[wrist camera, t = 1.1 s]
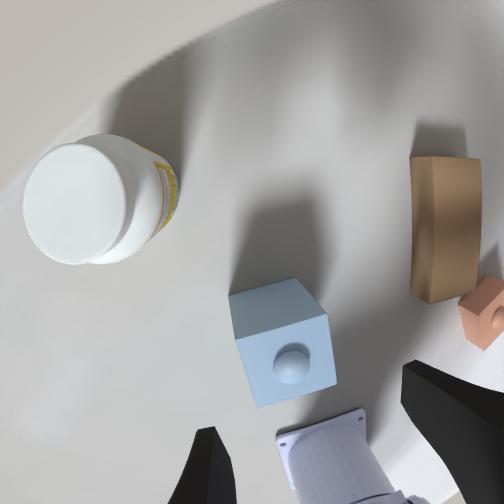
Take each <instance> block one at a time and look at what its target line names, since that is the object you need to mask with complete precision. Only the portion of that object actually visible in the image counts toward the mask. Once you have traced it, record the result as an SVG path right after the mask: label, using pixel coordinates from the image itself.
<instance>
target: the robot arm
mask: <svg viewBox="0 0 504 504" xmlns="http://www.w3.org/2000/svg"><path fill="white" fill-rule="evenodd" d="M401 404H402V405H403V407H404V409H405V411H406V413H407V414H408V416H409V417H410V419H411V421H412V422H413V423H414V425H415V426H416V427H417V429H418V430H419V431H420V432H421V434H422V435H423V436H424V437H425V439H426V440H427V441H428V442H429V444H430V445H431V446H432V447H433V449H434V450H435V451H436V452H437V454H438V455H439V456H440V457H441V459H442V460H443V462H444V463H445V465H446V466H447V468H448V470H449V471H450V473H451V475H452V477H453V478H454V480H455V482H456V484H457V486H458V488H459V490H460V491H461V493H462V495H463V498H464V500H465V502H466V504H504V393H502V392H498V391H494V390H490V389H487V388H483V387H480V386H477V385H474V384H472V383H469V382H466V381H464V380H461V379H459V378H456V377H454V376H452V375H449V374H447V373H445V372H442V371H440V370H438V369H436V368H434V367H431V366H429V365H427V364H425V363H423V362H420V361H418V360H414V361H412V362H409V363H407V364H405V365H403V372H402V390H401ZM276 443H277V447H278V450H279V453H280V456H281V459H282V462H283V465H284V468H285V471H286V474H287V477H288V480H289V483H290V486H291V489H292V490H293V491H296V492H297V496H298V499H299V502H300V504H430V503H429V502H428V501H427V500H426V499H425V498H422V497H417V496H415V495H412V496H410V497H408V498H405V496H404V495H403V493H402V491H401V490H399V491H397V492H395V490H394V488H393V486H392V485H391V483H390V481H389V480H388V478H387V476H386V475H385V473H384V471H383V470H382V468H381V466H380V464H379V463H378V461H377V459H376V458H375V456H374V454H373V453H372V451H371V449H370V448H369V446H368V444H367V442H366V412H365V410H364V409H362V408H361V409H357V410H355V411H352V412H349V413H347V414H344V415H341V416H339V417H336V418H333V419H330V420H327V421H324V422H321V423H318V424H315V425H312V426H309V427H306V428H302V429H299V430H296V431H292V432H289V433H285V434H282V435H279V436H277V437H276ZM281 443H283V444H281ZM168 504H237V500H236V487H235V479H234V473H233V468H232V464H231V459H230V456H229V454H228V452H227V450H226V448H225V446H224V444H223V442H222V440H221V438H220V436H219V434H218V432H217V430H216V428H215V426H213V427H208V428H203V429H198V430H197V432H196V435H195V438H194V442H193V445H192V448H191V451H190V454H189V457H188V460H187V462H186V465H185V467H184V470H183V472H182V475H181V477H180V480H179V482H178V484H177V486H176V488H175V490H174V492H173V494H172V496H171V498H170V500H169V502H168Z"/></svg>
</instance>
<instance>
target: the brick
mask: <svg viewBox="0 0 504 504" xmlns="http://www.w3.org/2000/svg"><path fill="white" fill-rule="evenodd" d="M458 307H459V311H460V315H461V319H462V323H463V327H464V332H465V336H466V339H468V340H469V341H471V342H472V343H473V344H475V345H476V346H478V347H479V348H481V349H482V350H483V351H484V350H485V349H486V348H487V347H488V346H489V345H490V344H491V343H492V342H493V341H494V340H495V339H496V338H497V337H498V336H499V335H500V334H501V333H502V332H503V331H504V281H502V280H500V279H498V278H495V277H493V276H491V275H487V276H486V277H485V278H484V279H483V280H482V281H481V282H480V283H479V284H478V285H477V286H476V291H475V292H472V293H469V294H468V295H467V296H466V297H465V298H464V299H463V300H462V301H461V302H460V303H459V304H458Z"/></svg>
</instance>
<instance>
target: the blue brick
mask: <svg viewBox="0 0 504 504" xmlns="http://www.w3.org/2000/svg"><path fill="white" fill-rule="evenodd" d="M228 298H229V305H230V311H231V317H232V323H233V329H234V336H235V341H236V344H237V347H238V350H239V354H240V357H241V360H242V363H243V366H244V370H245V373H246V376H247V379H248V382H249V385H250V388H251V391H252V394H253V397H254V400H255V403H256V406H257V408H261V407H264V406H268V405H272V404H276V403H279V402H283V401H286V400H289V399H293V398H296V397H299V396H303V395H306V394H309V393H312V392H315V391H318V390H321V389H324V388H327V387H330V386H333V385H336V384H337V379H336V372H335V364H334V357H333V350H332V343H331V336H330V329H329V323H328V317H327V313H326V312H325V311H324V309H323V308H322V307H321V306H320V305H319V304H318V302H317V301H316V300H315V299H314V298H313V297H312V295H311V294H310V293H309V292H308V291H307V290H306V288H305V287H304V286H303V285H302V284H301V283H300V281H299V280H298V279H297V278H296V277H295V278H291V279H288V280H284V281H281V282H277V283H273V284H270V285H266V286H262V287H259V288H255V289H251V290H248V291H244V292H240V293H237V294H233V295H229V296H228Z"/></svg>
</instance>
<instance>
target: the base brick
mask: <svg viewBox="0 0 504 504" xmlns="http://www.w3.org/2000/svg"><path fill="white" fill-rule="evenodd" d="M409 158H410V172H411V192H412V264H411V284H410V293H412V294H414V295H415V296H417V297H419V298H420V299H422V300H423V301H425V302H427V303H428V304H433V303H436V302H440V301H444V300H447V299H451V298H454V297H458V296H461V295H465V294H468V293H472V292H475V291H476V284H477V276H478V266H479V255H480V240H481V206H482V201H481V167H480V159H473V158H457V157H437V156H427V157H409Z"/></svg>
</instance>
